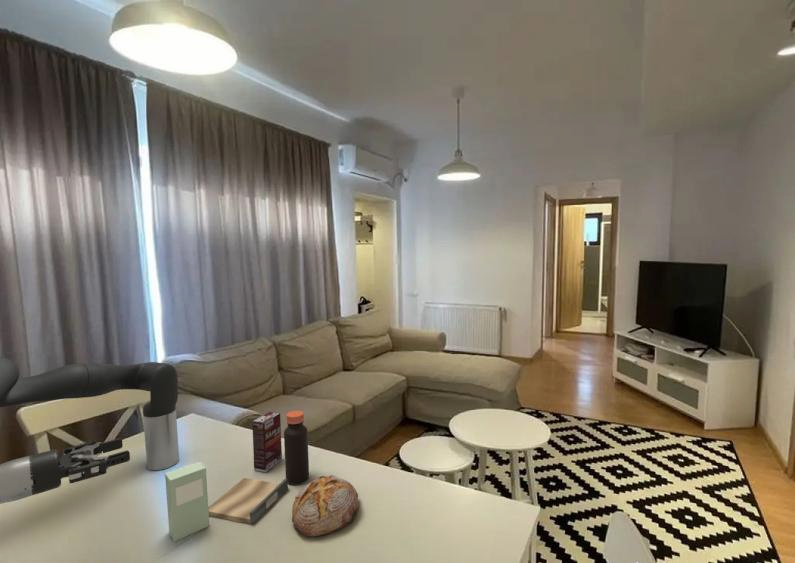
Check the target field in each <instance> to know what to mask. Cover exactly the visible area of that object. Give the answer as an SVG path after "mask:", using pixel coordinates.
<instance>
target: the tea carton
mask: <svg viewBox="0 0 795 563" xmlns="http://www.w3.org/2000/svg"><path fill="white" fill-rule="evenodd" d="M164 478H165V490H166V491H165V492H166V505H167V519H168V520H167V522H168V532H169V535H170V536H171V538H172V539H173V541H174V542H177V541H178V540H180V539H183V538H185V537H187V536H189V535H191V534H194V533H196V532H198V531H201V530H204V529H205V528H208V527H210V516H209V509H208V507H209V496H208V495H209V494H208V483H207V482H208V481H207V467H206V466H205V465H204V464H203V463H202V462H201V461H199V460H198V461H197V462H194V463H191V464H187V465H185V466H183V467H180V468H176V469H173V470H170V471H168V472H165V473H164Z"/></svg>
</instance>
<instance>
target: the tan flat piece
mask: <svg viewBox="0 0 795 563" xmlns="http://www.w3.org/2000/svg"><path fill="white" fill-rule="evenodd" d="M288 490H289V483H288V479H286V478H284V479H283V480H282V481H281V482H280V483H279V482H272V481H264V480H260V479H253V478H247V477H243V478H242V479H241V480H240V481H239V482H237V483H236V484H235V485H233V486H232V487H231V488H230V489H229V490H227V491H226V492H225V493H224V494H223V495H221V497H219V498H218V499H217V500H216V501H214V502H213V503H212V504H210V505H208V509H209V517H214V518H219V519H223V520H227V521H233V522H238V523H244V524H247V525H248V524H249V525H254V524H255V523H256V522H257V521H258V520H260V518H262V516H263V515H264V514H265V513H267V511H269V509H271V507H273V505H274V504H275V503H276V502H277V501H278V500H279V499H280V498H281V497H282V496H283V495H284V494H285V493H286V492H288Z"/></svg>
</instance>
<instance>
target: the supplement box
mask: <svg viewBox="0 0 795 563" xmlns="http://www.w3.org/2000/svg"><path fill="white" fill-rule="evenodd" d="M281 422H282V421H281V413H280V412H276V411H268V412H267V413H265V414H262V415H261V416H259V417H258V418H256V419H254V420H252V447H253V451H252V452H253V453H252V454H253V471H256V472H261V473H267V472H269V470H272V468H273V467H275V466H276V465H277V464H278V463H280V462H281V461H283V455H282V454H283V449H282V447H283V446H282V428H281V427H282V426H281V424H282V423H281Z"/></svg>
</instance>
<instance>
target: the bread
mask: <svg viewBox="0 0 795 563" xmlns="http://www.w3.org/2000/svg"><path fill="white" fill-rule="evenodd" d="M358 498H359V493H358V491H357V489H356V488H355V487H354V485H353V484H352V483H350V482H349V481H348V480H346V479H344V478H341V477H337V476H335V475H334V474H332V475H328V476H325V475H324V476H323V475H322V476H319V477H317V478H315V479H314V480H312V481H311V482H309V483H308V484H306V485H304V486H303V487H302V488H301V489H300V491H299V492H298V493H297V494H296V495H295V497H294V500H293V504H292V509H291V510H292V512H291V513H292V514H291V515H292V516H291V522H292V524H293V526H294V527H295V529H297V531H299V532H300V533H301V534H302V535H304V536H306V537H319V536H324V535H328V534H330V533H332V532H335V531H336V532H337V530H340V529H343V528H344V527H346V526H348V525H350V524H351V523H352V522H353V521H354V519H355V516H356V515H357V512H358V510H359V499H358Z"/></svg>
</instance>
